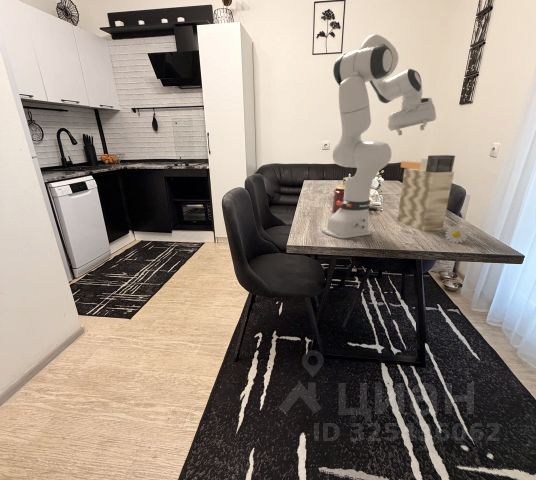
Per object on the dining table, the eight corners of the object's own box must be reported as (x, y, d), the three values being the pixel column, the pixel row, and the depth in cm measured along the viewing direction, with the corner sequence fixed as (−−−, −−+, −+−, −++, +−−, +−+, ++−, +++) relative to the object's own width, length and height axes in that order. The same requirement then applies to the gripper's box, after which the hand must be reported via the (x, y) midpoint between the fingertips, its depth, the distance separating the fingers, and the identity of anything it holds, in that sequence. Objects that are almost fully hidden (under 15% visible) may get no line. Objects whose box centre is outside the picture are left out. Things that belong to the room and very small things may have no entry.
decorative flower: (439, 217, 123) (468, 226, 109) (446, 226, 125) (475, 236, 111) (426, 230, 124) (453, 241, 110) (433, 238, 126) (461, 250, 112)
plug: (398, 167, 144) (399, 157, 142) (408, 166, 145) (409, 156, 143) (432, 171, 122) (434, 159, 120) (444, 171, 123) (446, 159, 121)
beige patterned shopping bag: (397, 220, 145) (406, 154, 134) (414, 219, 146) (425, 153, 136) (423, 231, 127) (436, 156, 116) (442, 229, 129) (457, 155, 118)
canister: (350, 208, 171) (352, 179, 165) (358, 214, 158) (361, 182, 153) (329, 209, 170) (331, 180, 164) (335, 214, 158) (337, 183, 152)
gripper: (387, 110, 138) (385, 133, 135) (435, 96, 127) (435, 121, 123) (390, 118, 143) (388, 141, 139) (436, 106, 131) (436, 130, 127)
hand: (410, 132), depth 131 cm, fingers open, 8 cm apart
